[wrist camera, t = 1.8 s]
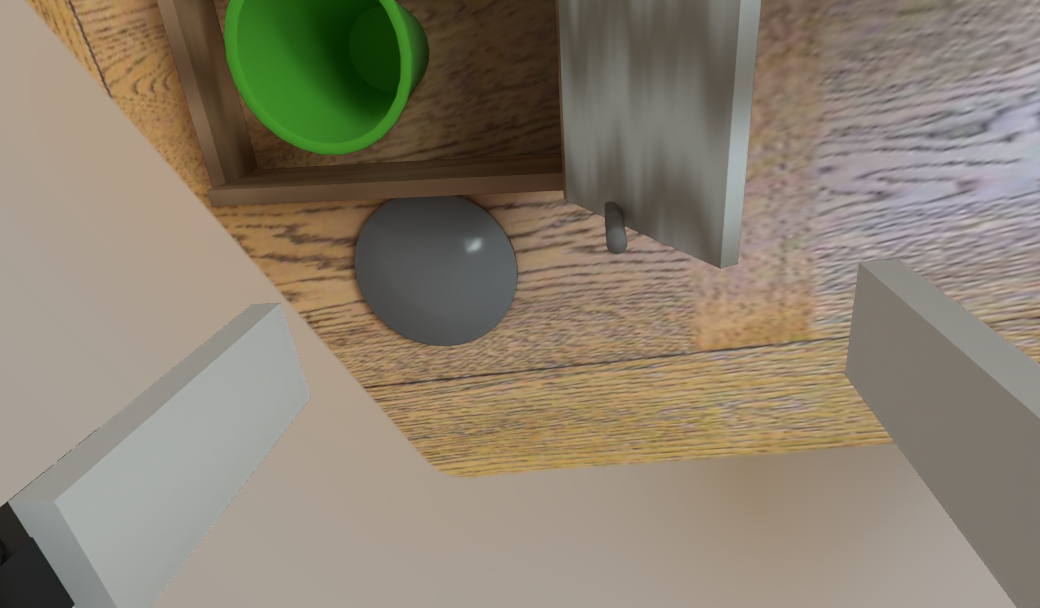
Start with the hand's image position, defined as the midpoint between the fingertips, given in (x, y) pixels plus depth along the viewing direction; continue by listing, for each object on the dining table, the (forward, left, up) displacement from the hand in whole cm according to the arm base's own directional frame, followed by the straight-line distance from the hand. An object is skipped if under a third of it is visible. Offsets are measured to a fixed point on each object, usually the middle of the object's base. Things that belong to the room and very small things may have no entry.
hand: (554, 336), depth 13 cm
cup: (-6, -12, -27) cm, 30 cm away
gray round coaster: (+9, -11, -27) cm, 30 cm away
